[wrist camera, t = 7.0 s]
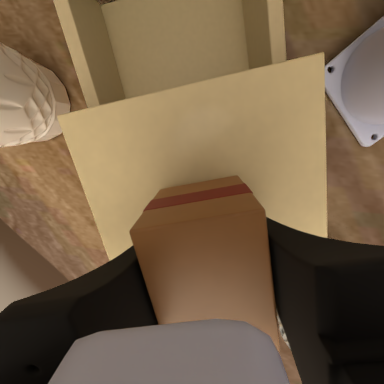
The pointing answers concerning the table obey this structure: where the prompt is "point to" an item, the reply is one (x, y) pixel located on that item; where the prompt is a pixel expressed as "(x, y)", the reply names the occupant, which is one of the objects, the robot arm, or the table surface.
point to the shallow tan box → (208, 146)
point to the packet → (207, 255)
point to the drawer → (167, 42)
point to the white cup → (28, 100)
